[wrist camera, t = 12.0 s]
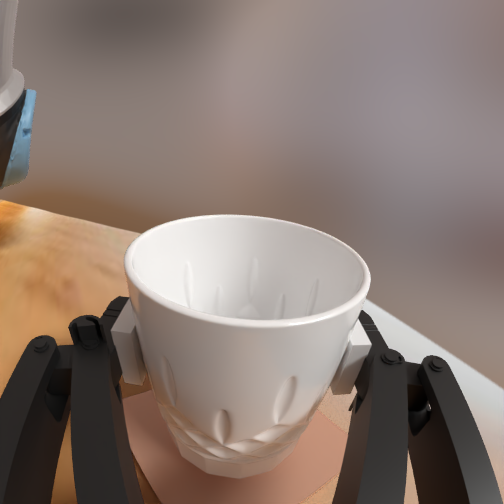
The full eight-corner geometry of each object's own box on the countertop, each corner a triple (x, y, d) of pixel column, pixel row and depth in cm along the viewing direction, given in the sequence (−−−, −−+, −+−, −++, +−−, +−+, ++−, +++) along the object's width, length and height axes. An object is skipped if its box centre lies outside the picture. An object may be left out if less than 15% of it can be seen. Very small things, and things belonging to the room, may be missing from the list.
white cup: (306, 382, 17) (346, 227, 13) (307, 496, 10) (405, 338, 6) (181, 364, 17) (175, 207, 13) (138, 468, 10) (70, 290, 6)
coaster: (113, 409, 15) (110, 402, 15) (252, 358, 21) (252, 351, 21) (201, 558, 7) (200, 557, 7) (360, 454, 14) (365, 448, 13)
